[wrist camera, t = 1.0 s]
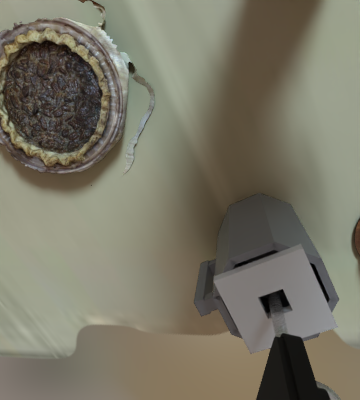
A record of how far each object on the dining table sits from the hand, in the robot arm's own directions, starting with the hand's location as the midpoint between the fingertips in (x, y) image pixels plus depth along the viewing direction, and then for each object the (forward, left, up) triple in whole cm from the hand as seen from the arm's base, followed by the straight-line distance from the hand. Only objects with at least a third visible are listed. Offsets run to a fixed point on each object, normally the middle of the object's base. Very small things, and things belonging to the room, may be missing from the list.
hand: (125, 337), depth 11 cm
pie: (+16, -16, -42) cm, 48 cm away
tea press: (0, +15, -41) cm, 43 cm away
